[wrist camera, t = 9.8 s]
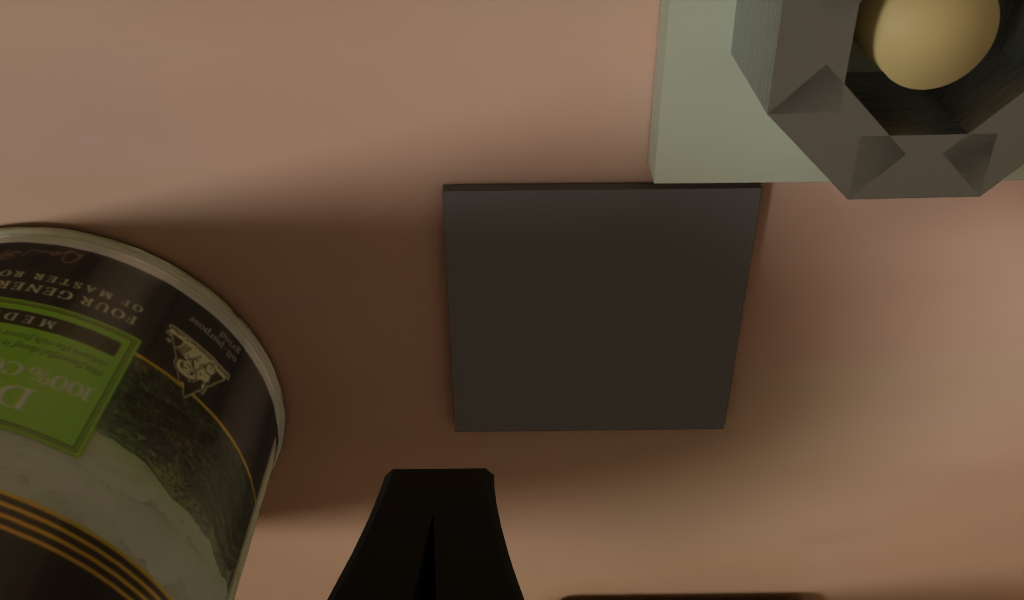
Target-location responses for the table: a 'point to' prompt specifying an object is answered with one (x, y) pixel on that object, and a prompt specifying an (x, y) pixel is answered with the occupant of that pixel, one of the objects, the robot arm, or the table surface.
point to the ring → (883, 104)
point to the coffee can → (125, 425)
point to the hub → (739, 114)
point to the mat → (596, 303)
